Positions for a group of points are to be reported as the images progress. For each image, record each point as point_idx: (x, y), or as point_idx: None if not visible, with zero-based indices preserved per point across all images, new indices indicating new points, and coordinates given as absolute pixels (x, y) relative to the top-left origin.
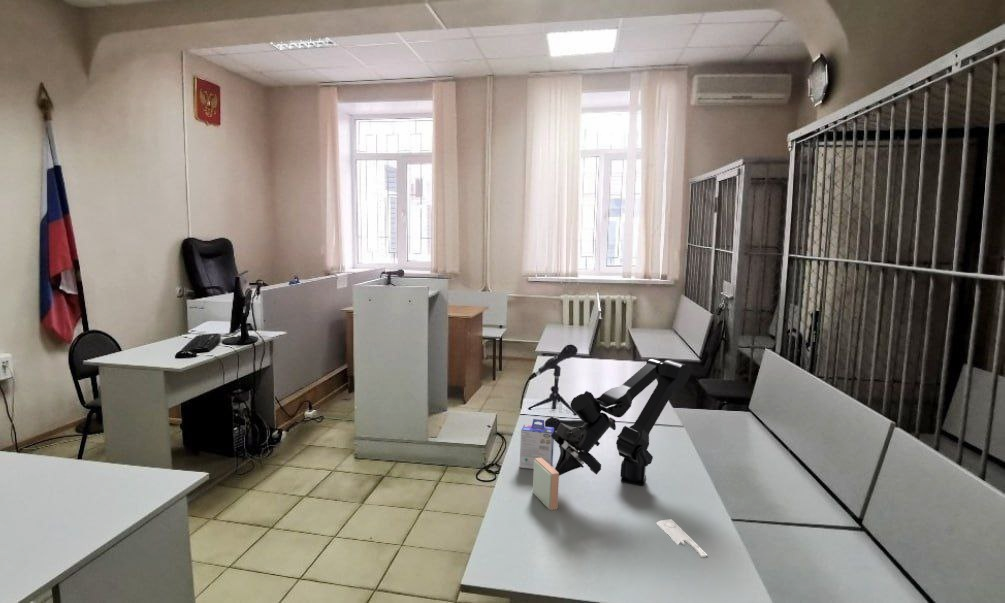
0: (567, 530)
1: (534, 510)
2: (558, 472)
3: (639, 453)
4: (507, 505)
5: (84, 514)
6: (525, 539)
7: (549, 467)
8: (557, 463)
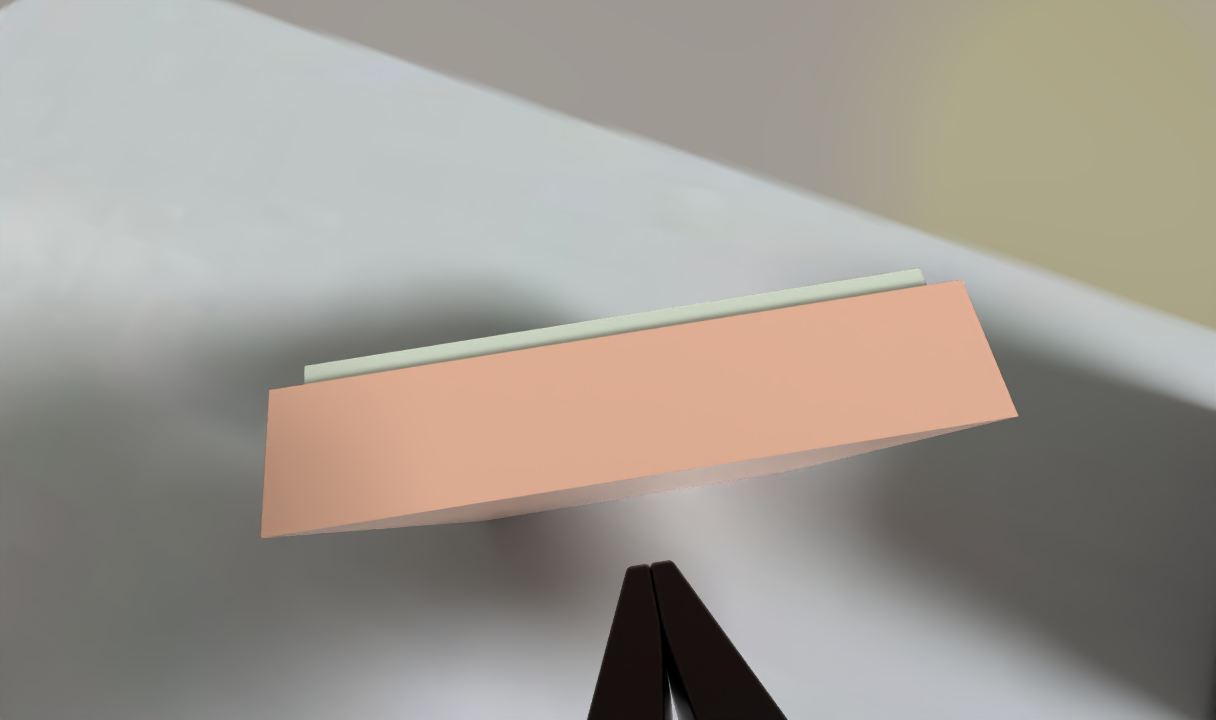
0: (195, 487)
1: None
2: (286, 534)
3: None
4: (610, 191)
5: None
6: (227, 205)
7: (533, 428)
8: (757, 705)
